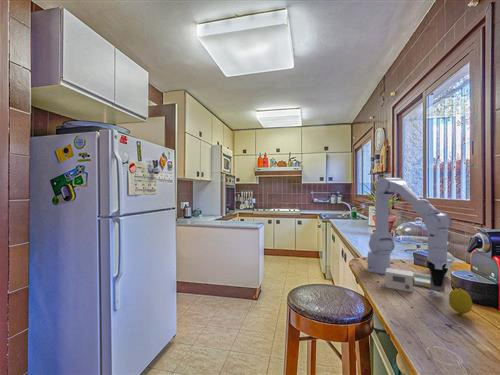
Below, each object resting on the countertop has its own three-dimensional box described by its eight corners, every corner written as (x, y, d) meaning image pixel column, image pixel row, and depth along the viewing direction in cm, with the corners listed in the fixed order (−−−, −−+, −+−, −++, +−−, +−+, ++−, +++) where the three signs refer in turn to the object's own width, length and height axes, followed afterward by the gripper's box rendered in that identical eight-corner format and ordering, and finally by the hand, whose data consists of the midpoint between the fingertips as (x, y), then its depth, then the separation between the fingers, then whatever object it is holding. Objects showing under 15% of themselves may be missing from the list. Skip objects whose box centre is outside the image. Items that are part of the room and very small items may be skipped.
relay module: (430, 288, 90) (430, 274, 90) (430, 285, 94) (430, 271, 94) (444, 291, 88) (444, 276, 88) (443, 287, 91) (443, 273, 92)
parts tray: (410, 284, 101) (410, 280, 101) (411, 276, 110) (411, 272, 110) (443, 290, 95) (443, 285, 95) (441, 281, 104) (441, 277, 104)
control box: (385, 287, 98) (385, 272, 98) (387, 282, 103) (387, 267, 103) (414, 293, 93) (414, 277, 93) (414, 287, 98) (414, 272, 98)
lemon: (466, 311, 79) (466, 286, 79) (476, 320, 74) (476, 293, 74) (445, 308, 81) (445, 284, 81) (453, 317, 76) (453, 290, 76)
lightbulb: (457, 279, 106) (457, 254, 106) (441, 278, 107) (441, 253, 107) (449, 274, 112) (449, 250, 112) (433, 274, 113) (433, 249, 113)
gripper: (453, 252, 83) (453, 293, 83) (449, 244, 95) (449, 279, 95) (427, 249, 87) (427, 288, 87) (426, 241, 99) (426, 276, 99)
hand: (437, 283), depth 91 cm, fingers closed on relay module, 4 cm apart
